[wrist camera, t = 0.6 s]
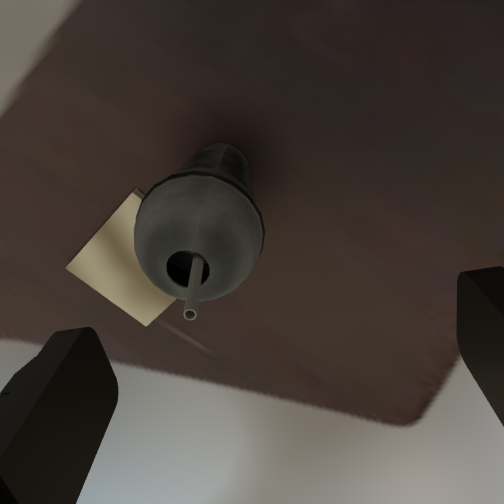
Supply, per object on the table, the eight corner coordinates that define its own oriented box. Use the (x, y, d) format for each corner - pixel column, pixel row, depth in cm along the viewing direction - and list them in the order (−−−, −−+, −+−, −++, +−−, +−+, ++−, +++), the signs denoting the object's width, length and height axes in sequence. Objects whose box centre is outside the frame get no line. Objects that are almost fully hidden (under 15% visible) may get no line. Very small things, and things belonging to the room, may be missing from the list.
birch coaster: (136, 188, 35) (132, 192, 34) (217, 256, 38) (216, 262, 37) (70, 262, 39) (65, 268, 38) (148, 320, 41) (146, 326, 41)
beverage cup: (156, 163, 34) (33, 315, 16) (226, 103, 32) (168, 206, 14) (216, 229, 36) (166, 422, 19) (285, 178, 34) (300, 344, 17)
